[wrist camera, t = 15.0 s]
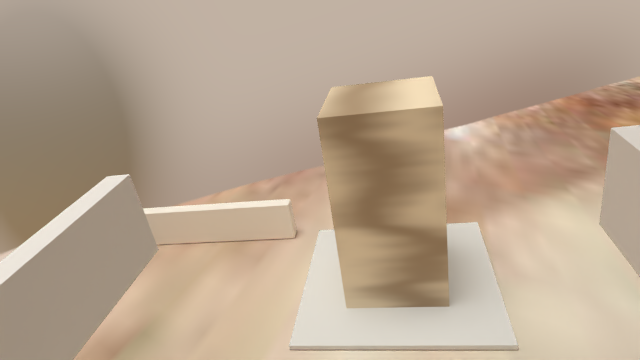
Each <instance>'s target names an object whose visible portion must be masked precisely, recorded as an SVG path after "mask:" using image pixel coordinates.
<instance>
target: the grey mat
mask: <svg viewBox="0 0 640 360" xmlns="http://www.w3.org/2000/svg"><path fill="white" fill-rule="evenodd" d="M447 248H448V279H449V307H395V308H346V302H345V296H344V289H343V283H342V276H341V270H340V264H339V257H338V251H337V244H336V238H335V231H334V230H319V234H318V238H317V242H316V245H315V249H314V253H313V257H312V261H311V264H310V268H309V272H308V276H307V280H306V283H305V287H304V291H303V295H302V299H301V302H300V306H299V310H298V314H297V318H296V321H295V325H294V329H293V333H292V337H291V340H290V344H289V347H290V350H518V343H517V340H516V337H515V334H514V331H513V328H512V325H511V322H510V319H509V316H508V313H507V310H506V307H505V304H504V301H503V298H502V295H501V292H500V289H499V286H498V283H497V280H496V277H495V274H494V271H493V268H492V265H491V262H490V259H489V256H488V253H487V250H486V247H485V244H484V241H483V238H482V234H481V231H480V228H479V225H478V222H472V223H453V224H447Z"/></svg>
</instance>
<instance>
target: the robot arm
mask: <svg viewBox="0 0 640 360" xmlns="http://www.w3.org/2000/svg"><path fill="white" fill-rule="evenodd" d="M599 224H600V225H601V227H602V228H603V229H604V231H605V232H606V233H607V235H608V236H609V237H610V239H611V240H612V241H613V242H614V244H615V245H616V246H617V248H618V249H619V250H620V252H621V253H622V254H623V256H624V257H625V258H626V260H627V261H628V262H629V263H630V265H631V266H632V267H633V269H634V270H635V271H636V273H637V274H638V275H639V277H640V125H637V126H626V127H616V128H611V133H610V141H609V149H608V157H607V165H606V174H605V182H604V190H603V198H602V206H601V214H600V223H599ZM158 250H159V249H158V247H157V244H156V242H155V239H154V236H153V234H152V231H151V229H150V226H149V223H148V221H147V218H146V216H145V213H144V210H143V208H142V205H141V203H140V200H139V197H138V195H137V192H136V190H135V187H134V185H133V182H132V179H131V177H130V175H129V174H128V175H118V176H107V177H106V178H105V179H103V180H102V181H101V182H100V183H98V184H97V185H96V186H95V187H94V188H92V189H91V190H90V191H88V192H87V193H86V194H84V195H83V196H82V197H81V198H80V199H78V200H77V201H76V202H74V203H73V204H72V205H71V206H70V207H68V208H67V209H66V210H64V211H63V212H62V213H61V214H59V215H58V216H57V217H56V218H54V219H53V220H52V221H51V222H49V223H48V224H47V225H46V226H44V227H43V228H42V229H40V230H39V231H38V232H37V233H35V234H34V235H33V236H32V237H30V238H29V239H28V240H27V241H26V242H24V243H23V244H22V245H20V246H19V247H18V248H17V249H15V250H14V251H13V252H12V253H10V254H9V255H8V256H7V257H5V258H4V259H3V260H1V261H0V360H73V359H74V358H75V356H76V355H77V354H78V353H79V351H80V350H81V349H82V347H83V346H84V345H85V344H86V342H87V341H88V340H89V338H90V337H91V336H92V335H93V333H94V332H95V331H96V329H97V328H98V327H99V326H100V324H101V323H102V322H103V320H104V319H105V318H106V317H107V315H108V314H109V313H110V311H111V310H112V309H113V308H114V306H115V305H116V304H117V302H118V301H119V300H120V299H121V297H122V296H123V295H124V293H125V292H126V291H127V290H128V288H129V287H130V286H131V284H132V283H133V282H134V281H135V279H136V278H137V277H138V275H139V274H140V273H141V272H142V270H143V269H144V268H145V266H146V265H147V264H148V263H149V261H150V260H151V259H152V257H153V256H154V255H155V254H156V252H157V251H158Z"/></svg>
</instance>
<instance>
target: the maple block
mask: <svg viewBox="0 0 640 360" xmlns="http://www.w3.org/2000/svg"><path fill="white" fill-rule="evenodd" d="M317 122H318V128H319V134H320V141H321V147H322V153H323V160H324V167H325V173H326V180H327V186H328V193H329V199H330V206H331V212H332V218H333V225H334V231H335V238H336V244H337V251H338V257H339V264H340V270H341V276H342V283H343V289H344V296H345V302H346V308H395V307H449V279H448V248H447V217H446V186H445V154H444V123H443V105H442V102H441V99H440V96H439V93H438V91H437V88H436V85H435V82H434V79H433V77H432V76H429V77H420V78H411V79H402V80H394V81H384V82H375V83H366V84H357V85H348V86H340V87H332V88H331V90H330V91H329V93H328V96H327V98H326V100H325V102H324V104H323V106H322V108H321V111H320V113H319V115H318V117H317Z"/></svg>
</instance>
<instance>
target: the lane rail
mask: <svg viewBox="0 0 640 360" xmlns="http://www.w3.org/2000/svg"><path fill="white" fill-rule="evenodd" d="M143 210H144V213H145V216H146V218H147V221H148V223H149V226H150V229H151V231H152V234H153V236H154V239H155V242H156V244H157V245H160V244H181V243H202V242H223V241H244V240H265V239H286V238H295V235H296V232H297V230H296V224H295V219H294V214H293V209H292V204H291V199H282V200H267V201H251V202H236V203H220V204H205V205H190V206H174V207H160V208H143Z"/></svg>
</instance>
